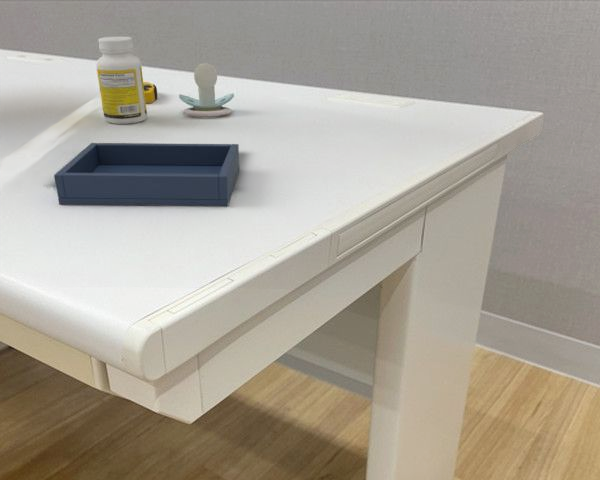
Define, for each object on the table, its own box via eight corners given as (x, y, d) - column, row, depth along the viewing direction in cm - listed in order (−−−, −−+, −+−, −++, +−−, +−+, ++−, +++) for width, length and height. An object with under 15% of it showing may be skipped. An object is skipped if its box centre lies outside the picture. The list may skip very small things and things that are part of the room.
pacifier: (235, 119, 83) (234, 108, 88) (233, 69, 80) (232, 60, 85) (178, 120, 82) (181, 109, 88) (174, 70, 79) (177, 61, 84)
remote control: (122, 91, 89) (123, 73, 102) (123, 105, 90) (125, 86, 103) (157, 90, 90) (154, 72, 103) (158, 104, 91) (155, 85, 104)
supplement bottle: (121, 113, 85) (111, 34, 80) (155, 117, 83) (147, 37, 78) (95, 122, 81) (83, 39, 76) (130, 126, 79) (120, 41, 74)
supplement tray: (59, 204, 54) (53, 175, 53) (95, 168, 63) (91, 142, 62) (228, 206, 54) (226, 176, 53) (239, 170, 63) (238, 143, 62)
